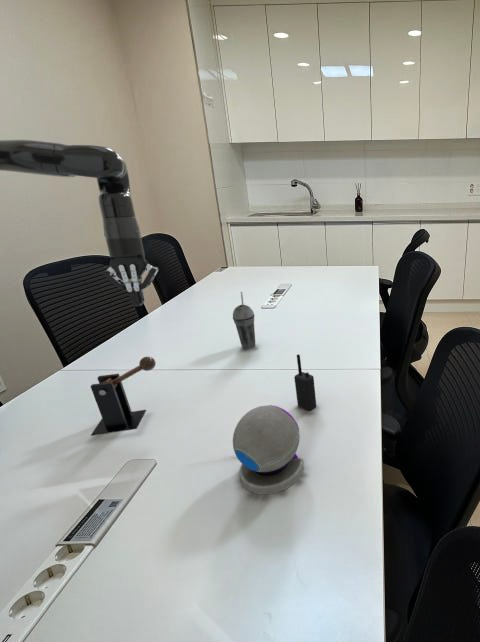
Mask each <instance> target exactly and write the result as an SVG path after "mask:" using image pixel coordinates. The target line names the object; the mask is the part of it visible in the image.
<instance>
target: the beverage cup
mask: <svg viewBox="0 0 480 642" xmlns="http://www.w3.org/2000/svg"><path fill="white" fill-rule="evenodd" d="M240 298H241V304H239V305H237V306H236V307H235V308H234V309H233V312H232V320H233V322H234V324H235V327H236V328H235V329H236V331H237V335H238V338H239V342H240V345H241V348H242V349H243V350H252V349H254V348H256V332H255V313H254V310H253V309H252V308H251V307H250V306H249V305H247V304H245V303H244V294H243V291H240Z"/></svg>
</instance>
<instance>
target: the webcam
mask: <svg viewBox="0 0 480 642" xmlns="http://www.w3.org/2000/svg"><path fill="white" fill-rule="evenodd" d="M300 435H301V434H300V428H299V425H298V423H297V420H296V419H295V418H294V417H293V415H292V414H291V413H290V412H288V411H287V410H285V409H284V408H282V407H280V406H277V405H272V404H270V405H269V404H268V405H267V404H266V405H260V406H256V407H254V408H252V409H250V410H249V411H247V412H246V413H245V414H243V416H242V417H241V418H240V419H239V421H238V422H237V424H236V426H235V428H234V431H233V435H232V448H233V451H234V455H235V456H236V458H237V460H238V461H239V463H241V465H240V468H239V478H240V483H241V485H242V486H243V487H244V489H246V490H247V491H249V492H251V493H254V494H259V495H270V494H275V493H280V492H282V491H285V490H286V489H288V488H289V487H291V486H293V485H294V484H295V483H296V482H298V480H299V479H300V478H301V476H302V474H303V472H304V466H305V464H304V459H303V458H302V457H299V456H298V455H297V454H296V453H297V451H298V449H299V446H300V439H301V438H300V437H301V436H300Z"/></svg>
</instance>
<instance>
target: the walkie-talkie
mask: <svg viewBox="0 0 480 642" xmlns="http://www.w3.org/2000/svg"><path fill="white" fill-rule="evenodd" d="M301 361H302V360H301V354H296V362H297V371H298V373H297V374H295V375H294V386H295V394H296V403H297V407H298V408H301V409H302V410H305V411H308V412H311V411H312V410H313V409H315V408H317V397H316V388H315V379H314V375H312V374H310V372H304V371H302V362H301Z"/></svg>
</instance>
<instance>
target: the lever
mask: <svg viewBox="0 0 480 642" xmlns="http://www.w3.org/2000/svg"><path fill="white" fill-rule="evenodd" d="M156 365H157V362H156V360H155V359H154V357H152V356H143V357H142V358H141V359H140V360H139V364H138V365H137V366H135V367H133V368H132V369H130V370H128V371H126V372H125V373H123V374H121V375H119V377H118V378H116V379H114V380H112V379H111V378H109V379H107V380H105V381H103V382H102V383H107V382H113V384H114V387H115V388H116V386H117V383H119V382H123V381H124V380H127V379H129V378H130V377H132V376H133V375H135V374H137V373H139V372H140V371H141V372H142V370H143V371H144V372H145V371H146V372H150V371H152V370H153V369H154V368H155V367H156Z"/></svg>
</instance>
